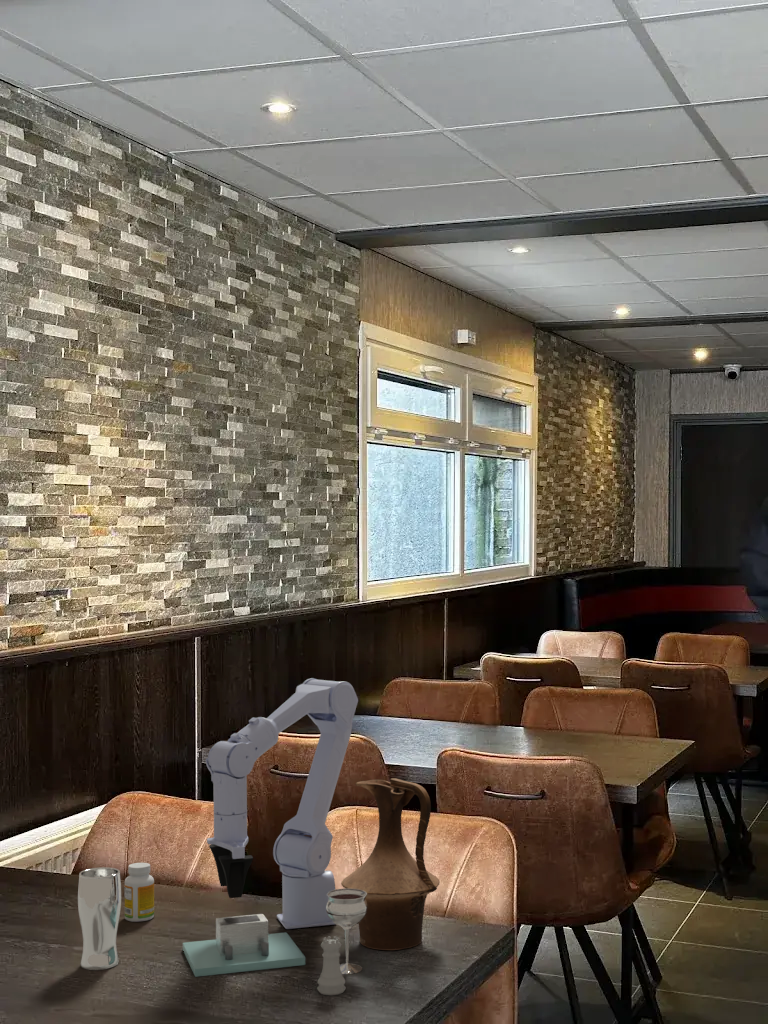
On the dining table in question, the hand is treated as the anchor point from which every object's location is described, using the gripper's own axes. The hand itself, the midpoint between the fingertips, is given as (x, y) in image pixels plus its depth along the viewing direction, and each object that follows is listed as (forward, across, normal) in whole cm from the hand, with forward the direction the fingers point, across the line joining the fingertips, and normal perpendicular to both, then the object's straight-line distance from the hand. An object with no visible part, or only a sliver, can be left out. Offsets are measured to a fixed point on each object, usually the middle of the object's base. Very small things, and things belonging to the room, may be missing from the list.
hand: (230, 891), depth 216 cm
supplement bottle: (+9, -21, -13) cm, 26 cm away
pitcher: (+9, +8, +26) cm, 29 cm away
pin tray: (+9, +8, 0) cm, 12 cm away
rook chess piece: (+9, +28, +10) cm, 31 cm away
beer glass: (+9, +3, -22) cm, 24 cm away
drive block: (+8, +7, 0) cm, 11 cm away
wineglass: (+9, +19, +15) cm, 26 cm away
